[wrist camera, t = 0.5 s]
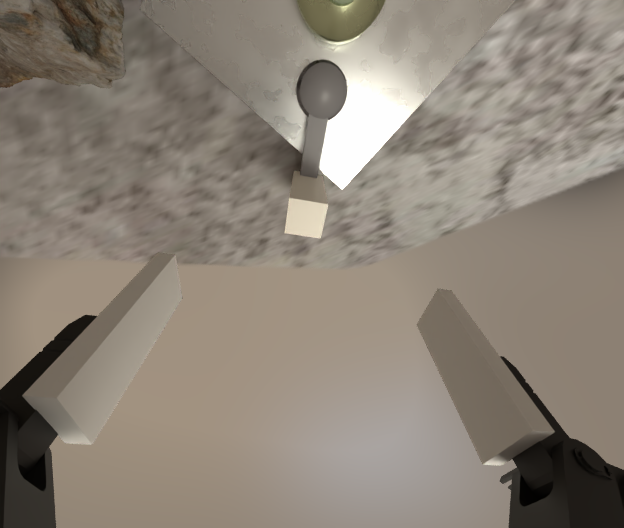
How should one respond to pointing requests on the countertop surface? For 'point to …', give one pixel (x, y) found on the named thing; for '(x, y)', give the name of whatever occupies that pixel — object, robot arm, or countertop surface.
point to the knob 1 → (314, 149)
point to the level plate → (330, 59)
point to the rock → (61, 41)
